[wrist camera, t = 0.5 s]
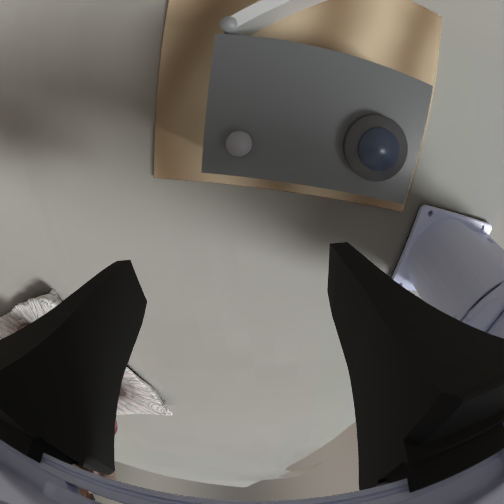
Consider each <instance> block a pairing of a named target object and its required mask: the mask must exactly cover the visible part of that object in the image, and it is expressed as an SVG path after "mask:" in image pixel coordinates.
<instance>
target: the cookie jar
mask: <svg viewBox="0 0 504 504" xmlns="http://www.w3.org/2000/svg"><path fill="white" fill-rule="evenodd" d="M61 302H62V301H61V300H60V298H59V296H58V295H57V293H56V291H55V289H51V291H50V293H49V294H46V295H42V296H38V297H37V298H31V299H28V301H26V302H23V303H19V304H17V305H16V306H14V308H13V309H12V310H11V312H9V313H8V314H6V315H4V316H2V317H0V340H1V339H3V338H5V337H7V336H9V335H11V334H13V333H15V332H16V331H18V330H20V329H21V328H23V327H25V326H27V325H28V324H30V323H32V322H34V321H35V320H37V319H38V318H40V317H41V316H43V315H44V314H46V313H47V312H49V311H50V310H51V309H53V308H54V307H56V306H57V305H58V304H60V303H61ZM117 414H119V415H122V414H124V415H126V414H157V415H170V416H171V415H173V414H172V412H171V411H170V410H169V409H168V408H167V407H166V406H165V404H164V403H163V402H162V400H161V399H160V397H159V395H158V394H157V392H156V391H155V390H154V389H153V387H152V386H150V385H149V384H147V383H146V382H145V381H143V380H142V379H141V378H139V377H138V376H137V375H136V374H135V373H133V372H132V371H131V370H130V369H129V368H128V367H127V366H126V369H125V372H124V376H123V379H122V384H121V389H120V394H119V399H118V405H117V413H116V415H117ZM116 431H117V422H116V421H115V433H116ZM73 466H75V467H78V468H80V469H83V470H85V471H88V472H91V473H94V474H97V475H100V476H103V477H106V478H109V479H112V480H115V481H116V476H115V473H114V472H113V473H112V474H110V475H105V474H102V473H99V472H96V471H93V470H90V469H87V468H84V467H79V466H76V465H74V464H73ZM76 487H77V486H76ZM78 489H79V491H80V493H81V495H82V496H84V497H86V498H89V499H92V500H94V501H95V498H94V496H93V494H92V492H89V491H86V490H84V489H82V488H79V487H78Z"/></svg>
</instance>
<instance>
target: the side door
mask: <svg viewBox="0 0 504 504" xmlns="http://www.w3.org/2000/svg"><path fill="white" fill-rule="evenodd" d="M324 1H327V0H260V1H258V2H256V3H254V4H252V5H250V6H248V7H246V8H244V9H243V10H241V11H239V12H237V13H235V14H233V15H232V16H227V17H224V18H222V19H221V21H220V27H221V29H222V31H223V32H224V34H232V35H245V36H251V35H252V34H254V33H256V32H258V31H260V30H262V29H264V28H266V27H268V26H270V25H272V24H274V23H276V22H278V21H280V20H282V19H284V18H286V17H288V16H290V15H293V14H295V13H297V12H299V11H302V10H304V9H307V8H309V7H311V6H314V5H316V4H319V3H322V2H324Z"/></svg>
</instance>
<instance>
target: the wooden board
mask: <svg viewBox="0 0 504 504" xmlns="http://www.w3.org/2000/svg"><path fill="white" fill-rule="evenodd" d="M258 1H260V0H169V3H168V9H167V15H166V21H165V27H164V34H163V41H162V49H161V57H160V66H159V76H158V88H157V101H156V117H155V142H154V178H163V179H177V180H190V181H201V182H212V183H222V184H232V185H241V186H249V187H257V188H265V189H273V190H280V191H288V192H295V193H301V194H308V195H314V196H320V197H327V198H333V199H338V200H344V201H350V202H355V203H361V204H366V205H371V206H376V207H381V208H386V209H391V210H396V211H400V212H403V209H404V206H405V203H406V200H407V197H408V194H409V190H410V187H411V184H412V181H413V177H414V174H415V170H416V167H417V163H418V160H419V156H420V152H421V148H422V144H423V140H424V136H425V132H426V127H427V123H428V118H429V113H430V108H431V103H432V97H433V92H434V86H435V79H436V72H437V65H438V56H439V46H440V35H441V16H440V15H438V14H436V13H434V12H432V11H430V10H428V9H427V8H425V7H423V6H421V5H419V4H417V3H414V2H412V1H410V0H327V1H324V2H322V3H319V4H316V5H314V6H311V7H309V8H307V9H304V10H302V11H299V12H297V13H295V14H293V15H290V16H288V17H286V18H284V19H282V20H280V21H278V22H276V23H274V24H272V25H270V26H268V27H266V28H264V29H262V30H260V31H258V32H256V33H254V34H252V35H251V36H256V37H264V38H272V39H279V40H285V41H291V42H297V43H302V44H307V45H312V46H317V47H321V48H326V49H330V50H334V51H338V52H341V53H345V54H349V55H352V56H356V57H359V58H362V59H365V60H368V61H372V62H375V63H377V64H380V65H383V66H386V67H389V68H391V69H394V70H397V71H399V72H402V73H404V74H407V75H409V76H412V77H414V78H416V79H419V80H421V81H423V82H425V83H428V84H430V85H432V86H433V89H432V95H431V101H430V106H429V111H428V116H427V121H426V125H425V130H424V134H423V139H422V143H421V147H420V151H419V154H418V158H417V162H416V166H415V169H414V173H413V176H412V179H411V183H410V186H409V189H408V193H407V196H406V199H405V202H404V204H400V203H396V202H391V201H387V200H382V199H377V198H372V197H367V196H363V195H357V194H352V193H347V192H342V191H336V190H330V189H325V188H319V187H313V186H306V185H300V184H293V183H286V182H279V181H272V180H265V179H257V178H248V177H240V176H231V175H221V174H210V173H201V168H202V154H203V141H204V129H205V118H206V107H207V98H208V88H209V79H210V71H211V63H212V55H213V48H214V41H215V34H224V32H223V31H222V29H221V27H220V21H221V19H222V18H224V17H227V16H232V15H233V14H235V13H237V12H239V11H241V10H243V9H244V8H246V7H248V6H250V5H252V4H254V3H256V2H258Z"/></svg>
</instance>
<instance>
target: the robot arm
mask: <svg viewBox="0 0 504 504" xmlns="http://www.w3.org/2000/svg"><path fill="white" fill-rule="evenodd" d="M429 211H431V212H430V214H428V212H429ZM491 229H492V226H491V225H490V224H489V223H487V222H484V221H481V220H478V219H474V218H471V217H468V216H465V215H461V214H458V213H454V212H451V211H447V210H444V209H440V208H437V207H433V206H429V205H422V206H421V207H420V209H419V211H418V214H417V217H416V220H415V222H414V225H413V228H412V230H411V233H410V235H409V238H408V241H407V243H406V246H405V248H404V250H403V253H402V255H401V257H400V260H399V262H398V264H397V267H396V269H395V271H394V273H393V276H392V278H390V277H389V276H388V275H387V274H385V273H384V272H383V271H381V270H380V269H379V268H378V267H377V266H375V265H374V264H373V263H372V262H370V261H369V260H368V259H367V258H366V257H365V256H363V255H362V254H361V253H360V252H359V251H357V250H356V249H355V248H354V247H353V246H351V245H350V244H349V243H347V242H344V243H332V244H330V253H329V274H328V290H327V291H328V296H329V302H330V307H331V312H332V316H333V320H334V323H335V326H336V330H337V333H338V336H339V339H340V343H341V346H342V349H343V353H344V356H345V359H346V363H347V366H348V370H349V375H350V380H351V386H352V393H353V400H354V407H355V416H356V424H357V438H358V455H359V489H360V491H355V492H350V493H345V494H339V495H332V496H326V497H319V498H309V499H298V500H285V501H232V500H217V499H206V498H196V497H189V496H182V495H176V494H170V493H165V492H160V491H155V490H150V489H145V488H141V487H137V486H133V485H129V484H125V483H122V482H119V481H115V480H112V479H109V478H106V477H103V476H100V475H97V474H94V473H91V472H88V471H85V470H83V469H80V468H78V467H75V466H73V464H74V465H76V466H79V467H84V468H87V469H90V470H93V471H96V472H99V473H102V474H105V475H110V474H112V473H113V472H114V471H115V466H114V435H115V421H116V413H117V405H118V399H119V394H120V389H121V384H122V379H123V376H124V372H125V369H126V366H127V364H128V361H129V358H130V355H131V352H132V350H133V347H134V344H135V342H136V339H137V336H138V333H139V331H140V328H141V325H142V322H143V317H144V313H145V309H146V304H147V300H146V298H145V296H144V293H143V291H142V288H141V286H140V284H139V281H138V279H137V276H136V274H135V271H134V268H133V266H132V263H131V261H130V260H124V261H116V262H115V263H113V264H111V265H110V266H108V267H107V268H105V269H104V270H102V271H101V272H100V273H98V274H97V275H96V276H94V277H93V278H92V279H91V280H89V281H88V282H87V283H85V284H84V285H83V286H82V287H80V288H79V289H78V290H77V291H75V292H74V293H73V294H71V295H70V296H69V297H67V298H66V299H65V300H63V301H62V302H61V303H60V304H58V305H57V306H56V307H54V308H53V309H51V310H50V311H49V312H47V313H46V314H44V315H43V316H41V317H40V318H38V319H37V320H35V321H34V322H32V323H30V324H28V325H27V326H25V327H23V328H21V329H20V330H18V331H16V332H15V333H13V334H11V335H9V336H7V337H5V338H3V339H1V340H0V504H102V503H100V502H97V501H94V500H92V499H89V498H86V497H84V496H82V495H81V493H80V491H79V489H78V487H79V488H82V489H84V490H86V491H89V492H92V493H94V494H97V495H100V496H102V497H105V498H108V499H111V500H114V501H117V502H120V503H123V504H504V250H503V249H502V248H501V247H500V246H499V245H498V244H497V243H496V242H495V241H494V240H493V239H492V238H491V237H490V236H489V234H490V232H491ZM399 283H400V284H399ZM408 290H415V291H417V292H418V294H419V295H420V297H421V299H420V298H419V297H417V296H415V295H414V294H412V293H411V292H410V291H408ZM76 486H77V487H76Z"/></svg>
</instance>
